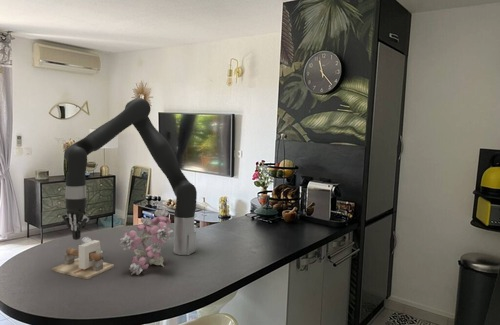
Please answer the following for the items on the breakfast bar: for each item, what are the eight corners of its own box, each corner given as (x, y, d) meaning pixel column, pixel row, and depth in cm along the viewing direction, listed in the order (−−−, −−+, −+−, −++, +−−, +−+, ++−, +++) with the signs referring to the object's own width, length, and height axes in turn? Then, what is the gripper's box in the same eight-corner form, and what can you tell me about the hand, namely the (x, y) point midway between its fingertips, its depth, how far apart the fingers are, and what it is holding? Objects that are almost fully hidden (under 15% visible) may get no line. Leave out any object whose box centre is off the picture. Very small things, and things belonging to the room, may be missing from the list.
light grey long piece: (90, 235, 176) (104, 242, 156) (91, 249, 176) (104, 258, 156) (79, 237, 173) (91, 244, 153) (79, 251, 173) (91, 260, 153)
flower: (110, 257, 155) (112, 211, 142) (160, 244, 167) (166, 201, 155) (125, 293, 141) (128, 246, 129) (178, 275, 154) (186, 231, 142)
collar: (100, 262, 147) (100, 241, 146) (84, 269, 140) (84, 246, 139) (94, 261, 148) (94, 239, 147) (78, 268, 141) (78, 245, 140)
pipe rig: (113, 266, 148) (114, 249, 148) (87, 279, 135) (87, 260, 135) (80, 259, 155) (80, 242, 154) (51, 270, 142) (51, 252, 141)
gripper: (96, 196, 145) (96, 239, 147) (71, 193, 150) (71, 234, 151) (81, 199, 138) (81, 244, 140) (55, 196, 143) (56, 239, 144)
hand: (76, 239), depth 145 cm, fingers closed
